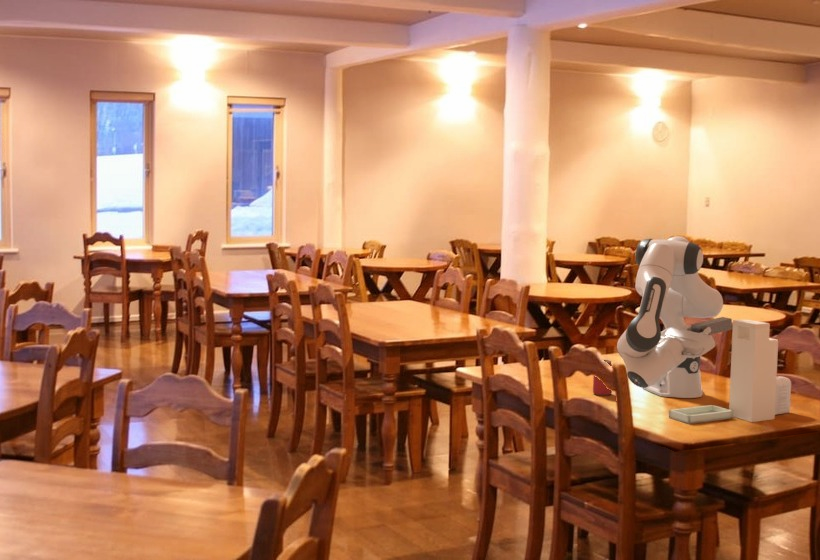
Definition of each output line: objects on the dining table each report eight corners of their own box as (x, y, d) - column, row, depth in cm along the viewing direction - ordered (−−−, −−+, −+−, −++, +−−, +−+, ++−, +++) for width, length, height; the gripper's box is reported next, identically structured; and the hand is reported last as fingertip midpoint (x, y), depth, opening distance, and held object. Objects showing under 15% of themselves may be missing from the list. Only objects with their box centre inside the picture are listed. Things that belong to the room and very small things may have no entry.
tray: (668, 417, 340) (669, 410, 339) (712, 412, 348) (712, 404, 347) (688, 423, 331) (689, 416, 331) (732, 418, 339) (733, 410, 339)
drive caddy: (691, 335, 329) (690, 324, 328) (723, 327, 335) (722, 316, 334) (700, 337, 325) (699, 326, 325) (732, 329, 331) (731, 318, 330)
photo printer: (780, 410, 352) (782, 374, 351) (791, 412, 349) (793, 376, 347) (760, 413, 346) (762, 377, 345) (771, 416, 343) (773, 379, 342)
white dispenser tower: (728, 415, 343) (732, 320, 340) (751, 412, 348) (756, 318, 345) (751, 422, 335) (755, 324, 331) (774, 419, 339) (779, 322, 336)
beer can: (603, 396, 370) (604, 363, 369) (589, 393, 375) (590, 360, 374) (615, 394, 374) (616, 361, 373) (601, 391, 379) (602, 358, 378)
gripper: (691, 348, 313) (723, 323, 318) (647, 338, 332) (677, 314, 336) (699, 365, 315) (730, 340, 320) (654, 354, 334) (684, 330, 338)
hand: (703, 327), depth 328 cm, fingers closed on drive caddy, 4 cm apart
